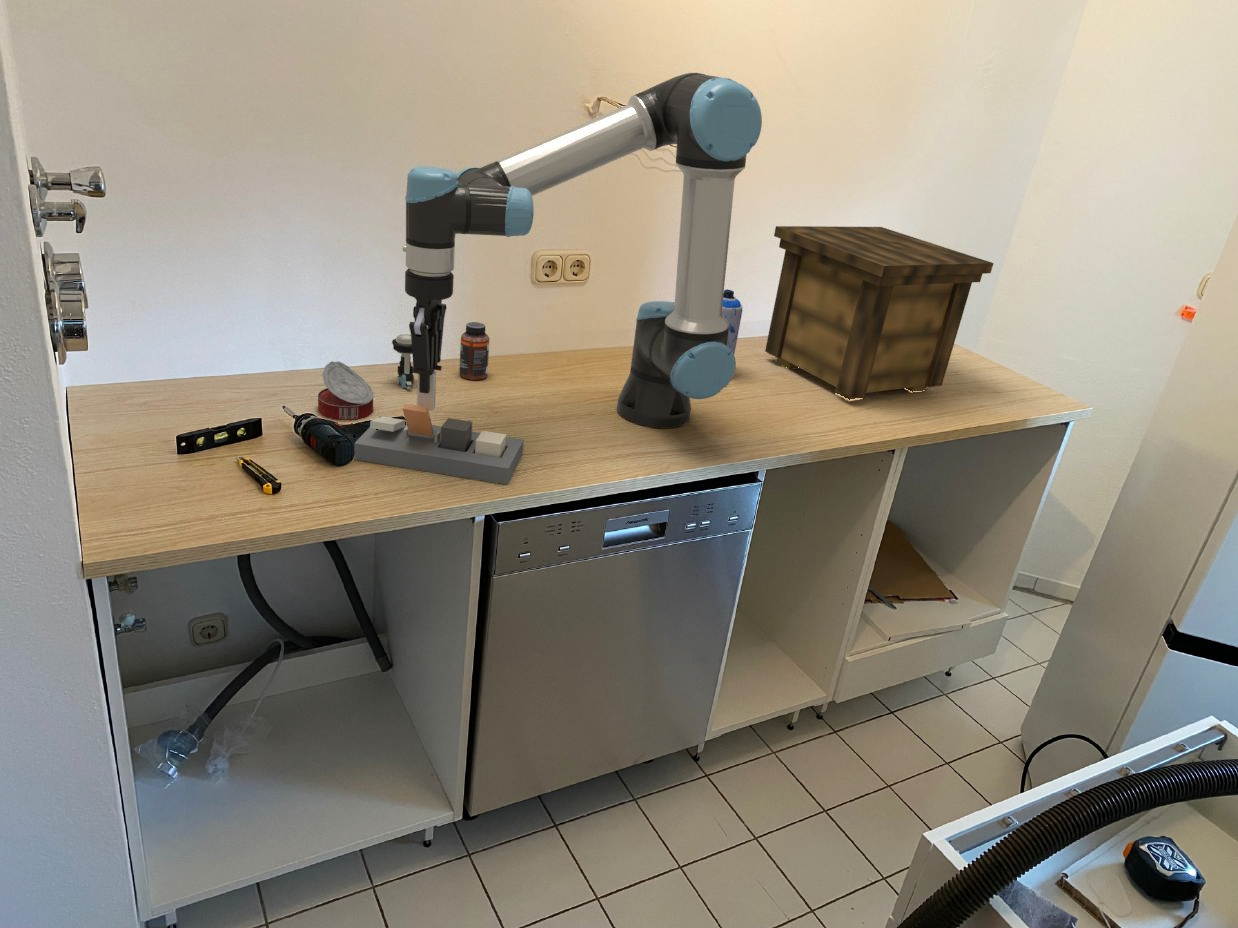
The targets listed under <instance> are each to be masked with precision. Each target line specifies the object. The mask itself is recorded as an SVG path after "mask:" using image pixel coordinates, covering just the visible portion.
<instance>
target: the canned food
mask: <svg viewBox="0 0 1238 928" xmlns="http://www.w3.org/2000/svg"><path fill="white" fill-rule="evenodd" d="M322 378H323V379H322V380H323V384H324V385H325V386H326V388H324V389H322V390H321V391H319V392H318V394H317V409H318V413H319V415H321V416H323V417H324V418H326V419H330V420H334V421H335V420H336V421H342V420H349V421H358V419H359V420H363V419H365V418H368V417H370V416H371V415H372V414H373V413H374V391H373V390H372V387H371V385H369V384H368V383H367V381H365V379H364V378H363V377H362V376H360V375H359V374H358V373H357V372H356V371H355V370H353V369H352V368H350V367H349V366H348V365H347V364H345V363H343V362H341V361H340V360H339V361H333V360H332V361H330V362H329V363H327V364H326V365H325V367H324V369H323V371H322ZM369 415H370V416H369ZM367 416H368V417H367ZM362 418H363V419H362ZM349 421H348V422H349Z"/></svg>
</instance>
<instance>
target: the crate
mask: <svg viewBox="0 0 1238 928" xmlns="http://www.w3.org/2000/svg"><path fill="white" fill-rule="evenodd" d="M773 234H774V235H773V236H774V237H775V238H778V239H780V240H779V245H778V247H779V249H781V250H782V249H783V250H785V251H784V256H783V261H782V266H781V271H780V276H779V280H778V285H777V291H776V295H775V300H774V306H773V311H772V315H771V320H770V325H769V331H768V335H767V341H766V345H765V349H764V352H765V353H767V354H769V355H771V356H772V357H774V358H777V359H776V364H778V365H779V364H780V366H781V365H783V366H784V367H783V366H782V367H783V368H785V367H787V368H788V369H787V368H786V369H787V370H794V369H793V368H798V367H799V368H798V369H802V370H803V371H805V372H807V373H809V374H811V375H813V376H814V377H817V378H818V379H820V380H822V381H823V382H826V383H828V384H830V385H832V386H834V387H835V390H834V394H835V393H837V394H840V395H841V396H844V397H845V398H848V399H849V400H850V399H855V398H863V399H864V397H865V396H866V394H867V393H875V392H884V391H890V390H891V391H892V390H898V389H899V390H900V389H901V390H902V388H906V389H908V390H910V391H912V392H913V391H923V390H925V391H926V389H927V388H933V387H941V386H943V382H944V379H945V376H946V372H947V368H948V366H949V362H950V359H951V355H952V352H953V348H954V347H955V346H954V345H955V342H956V338H957V336H958V335H957V334H958V331H959V329H960V324H961V322H962V318H963V314H964V312H965V308H966V304H967V301H968V297H969V295H970V291H971V288H972V284H973V283H981V281H982V277H983V275H984V274H991V273H992V271H993V267H994V262H992V261H989V260H984V259H982V258H979V257H976V256H973V255H970V254H966V253H963V252H960V251H957V250H955V249H950V248H948V247H945V246H942V245H938V244H935V243H932V242H929V241H926V240H924V239H923V240H922V239H920V238H917V237H914V236H910V235H908V234H904V233H901V232H899V231H895V230H892V229H889V228H886V227H883V226H825V225H824V226H821V225H820V226H817V225H816V226H815V225H814V226H806V225H805V226H804V225H803V226H802V225H801V226H800V225H799V226H797V225H796V226H795V225H793V226H791V225H790V226H789V225H788V226H787V225H783V226H782V225H778V226H775V229H774V233H773Z"/></svg>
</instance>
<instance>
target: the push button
mask: <svg viewBox="0 0 1238 928" xmlns="http://www.w3.org/2000/svg"><path fill="white" fill-rule="evenodd" d="M391 344H392V346H393V350H394V351H395V352H396V353H398V354H400V361H399V365H397V378H396V383H397V385H399V383H400V385H401V387H402V389H407V390H412V385H414V383H415V382H414V378H415V377H414V373H413V372H412V370H413V365H412V363H411V358H412V357H411V355H412V341H411V334H408V333H406V334H405V333H403V334H398V335H397V336H396V338H394V339H392V341H391Z"/></svg>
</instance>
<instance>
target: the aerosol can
mask: <svg viewBox="0 0 1238 928" xmlns="http://www.w3.org/2000/svg"><path fill="white" fill-rule="evenodd" d="M734 294H735V293H734V291H733V290H731V289H727V288H726V289H724V294H723V304H722V315H723V316H724V317H725V319H726V320H727V321H728V322H729V331H728V341H727V346H728V347H729V348H730V349H731V350H732V352H733V354H734V355H735V352H736V347H737V343H738V342H737V341H738V336H739V331H740V328H741V327H740V326H741V321H742V320H741V319H742V315H743V304H741V301H740V300H739V299H738V298H736V296H734Z"/></svg>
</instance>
